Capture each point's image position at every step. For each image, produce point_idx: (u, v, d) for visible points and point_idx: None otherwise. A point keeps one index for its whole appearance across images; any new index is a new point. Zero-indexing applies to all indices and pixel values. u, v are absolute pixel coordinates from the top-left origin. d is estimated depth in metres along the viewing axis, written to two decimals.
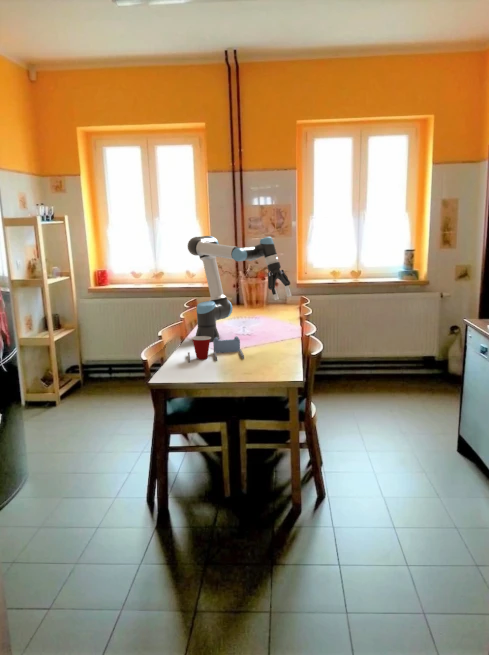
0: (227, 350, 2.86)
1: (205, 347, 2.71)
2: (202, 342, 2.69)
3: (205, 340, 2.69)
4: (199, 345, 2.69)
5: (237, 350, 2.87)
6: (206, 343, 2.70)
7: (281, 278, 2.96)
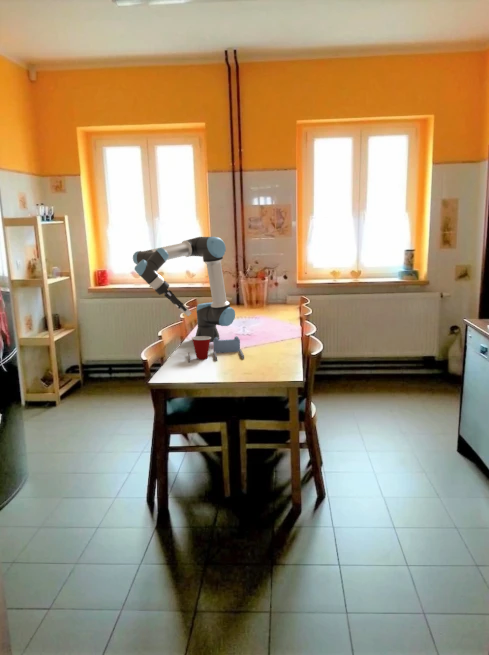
0: (227, 350, 2.86)
1: (205, 347, 2.71)
2: (202, 342, 2.69)
3: (205, 340, 2.69)
4: (199, 345, 2.69)
5: (237, 350, 2.87)
6: (206, 343, 2.70)
7: None
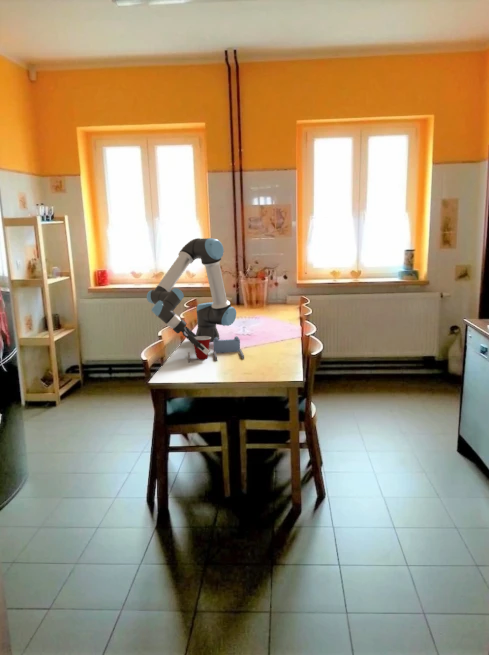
0: (227, 350, 2.86)
1: None
2: (202, 342, 2.69)
3: (205, 340, 2.69)
4: None
5: (237, 350, 2.87)
6: (206, 343, 2.70)
7: None
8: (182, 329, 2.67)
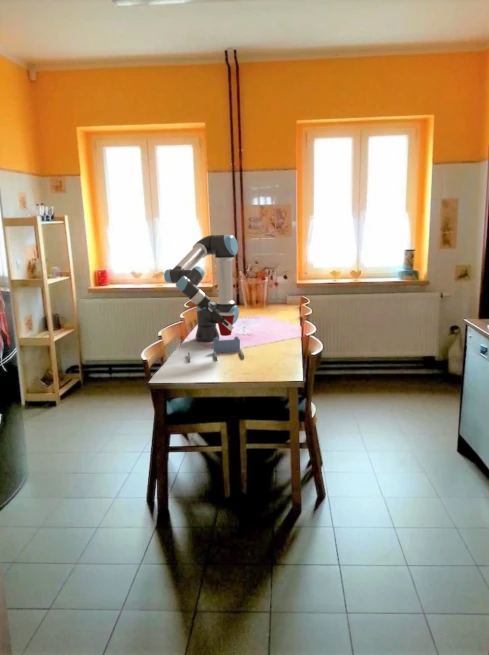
0: (227, 350, 2.86)
1: None
2: (226, 318, 2.67)
3: (229, 316, 2.68)
4: None
5: (237, 350, 2.87)
6: (230, 319, 2.69)
7: None
8: (206, 305, 2.66)
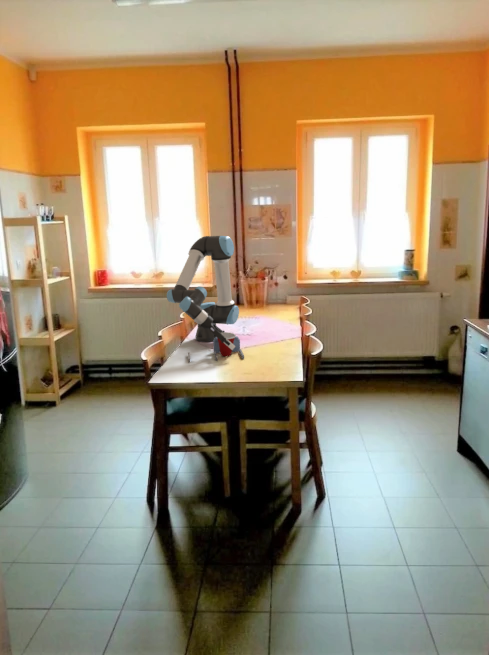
0: None
1: None
2: None
3: (230, 339, 2.72)
4: None
5: (237, 350, 2.87)
6: (230, 341, 2.73)
7: None
8: None
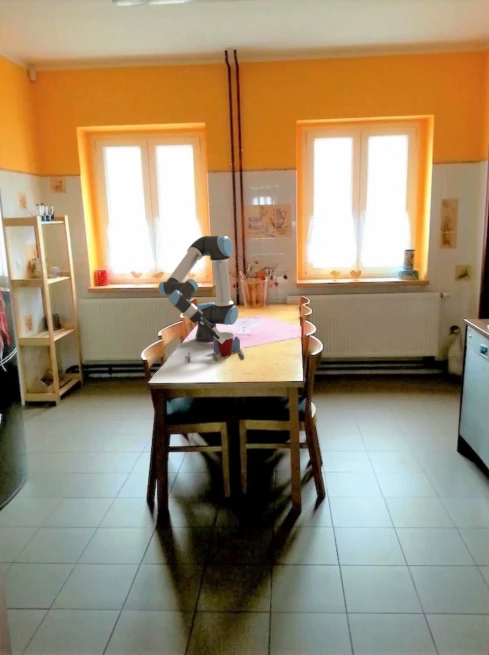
0: None
1: (228, 345, 2.74)
2: (225, 341, 2.71)
3: (228, 339, 2.71)
4: (223, 343, 2.72)
5: (237, 350, 2.87)
6: (229, 341, 2.73)
7: None
8: None
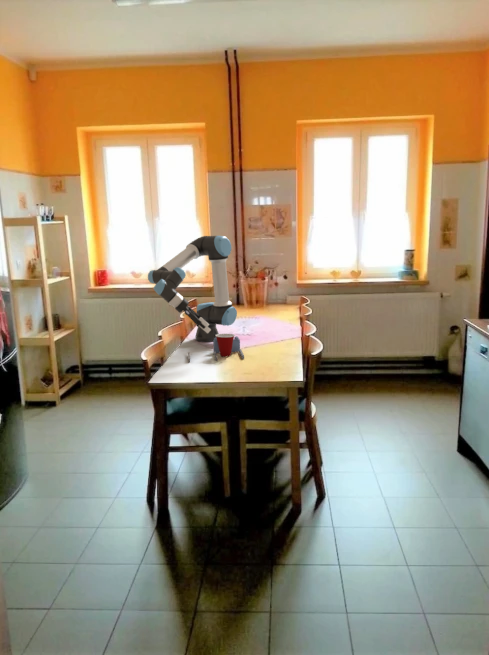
0: None
1: (229, 344, 2.75)
2: (226, 339, 2.73)
3: (229, 337, 2.73)
4: (223, 342, 2.74)
5: (237, 350, 2.87)
6: (230, 340, 2.75)
7: None
8: None
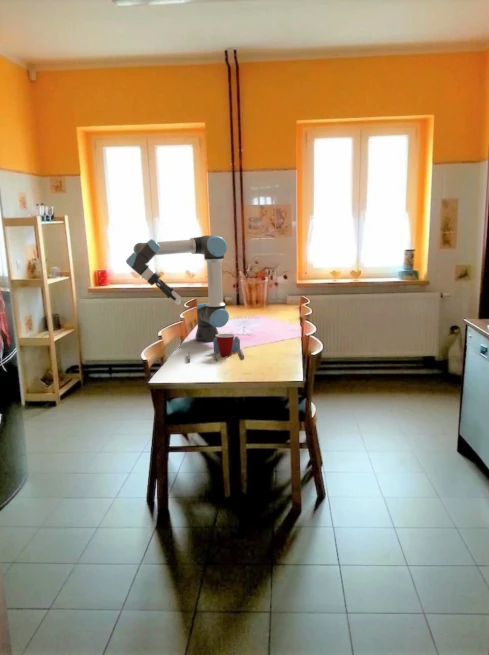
0: None
1: (229, 344, 2.75)
2: (226, 339, 2.73)
3: (229, 337, 2.73)
4: (223, 342, 2.74)
5: (237, 350, 2.87)
6: (230, 340, 2.75)
7: None
8: None
